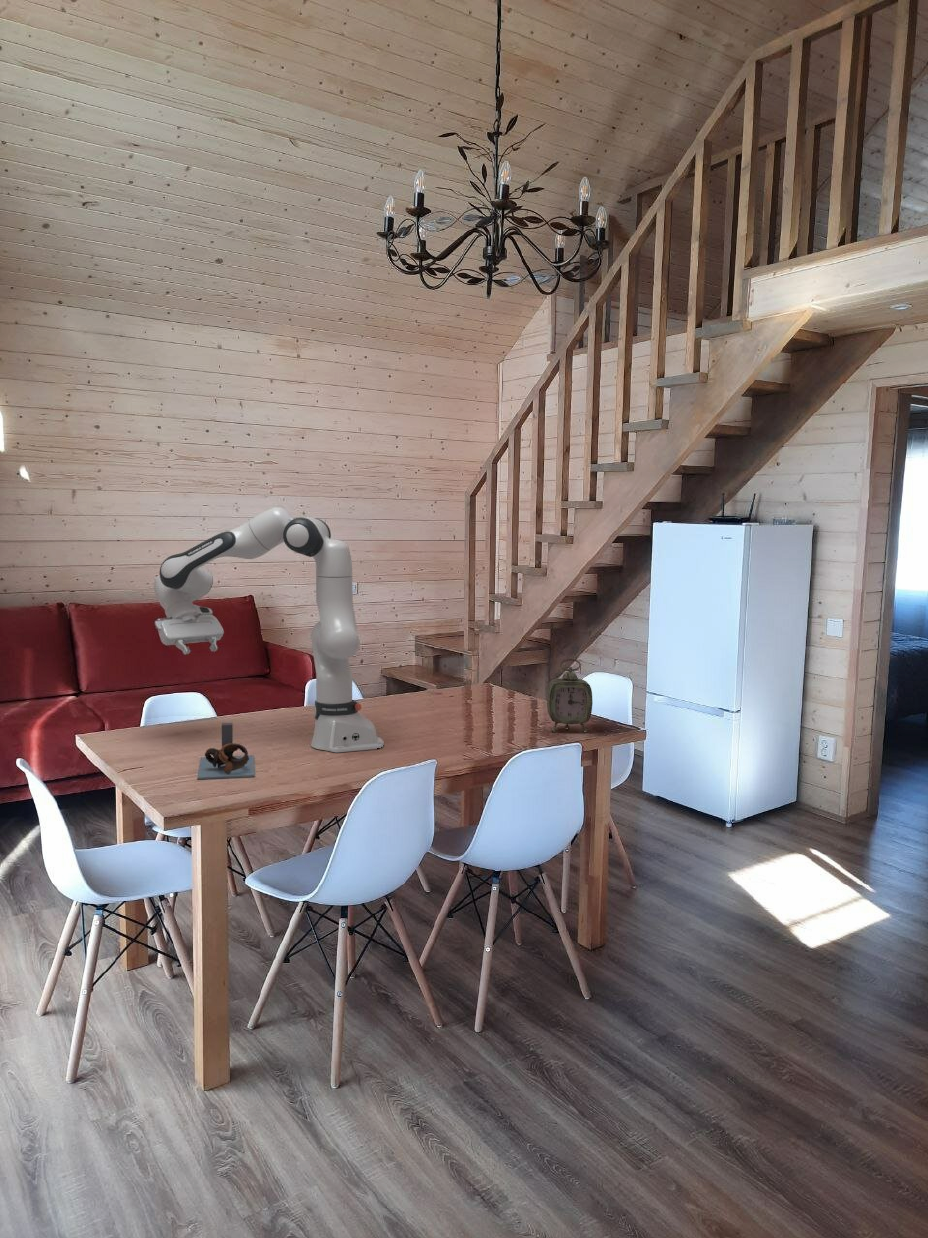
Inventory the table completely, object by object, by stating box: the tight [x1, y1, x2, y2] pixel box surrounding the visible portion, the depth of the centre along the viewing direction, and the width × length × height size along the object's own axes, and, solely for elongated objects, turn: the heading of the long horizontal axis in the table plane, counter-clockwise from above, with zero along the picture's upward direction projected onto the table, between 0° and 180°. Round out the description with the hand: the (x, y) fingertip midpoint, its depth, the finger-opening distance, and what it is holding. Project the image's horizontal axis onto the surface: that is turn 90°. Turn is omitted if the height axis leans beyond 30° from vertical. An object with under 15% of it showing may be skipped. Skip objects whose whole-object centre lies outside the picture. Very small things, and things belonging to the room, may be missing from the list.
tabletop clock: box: [546, 658, 594, 733], centre depth 305 cm, size 14×9×25 cm, turn 92°
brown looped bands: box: [204, 742, 249, 774], centre depth 248 cm, size 12×10×8 cm
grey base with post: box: [197, 722, 256, 780], centre depth 252 cm, size 15×21×10 cm
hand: (201, 651), depth 273 cm, fingers open, 8 cm apart
